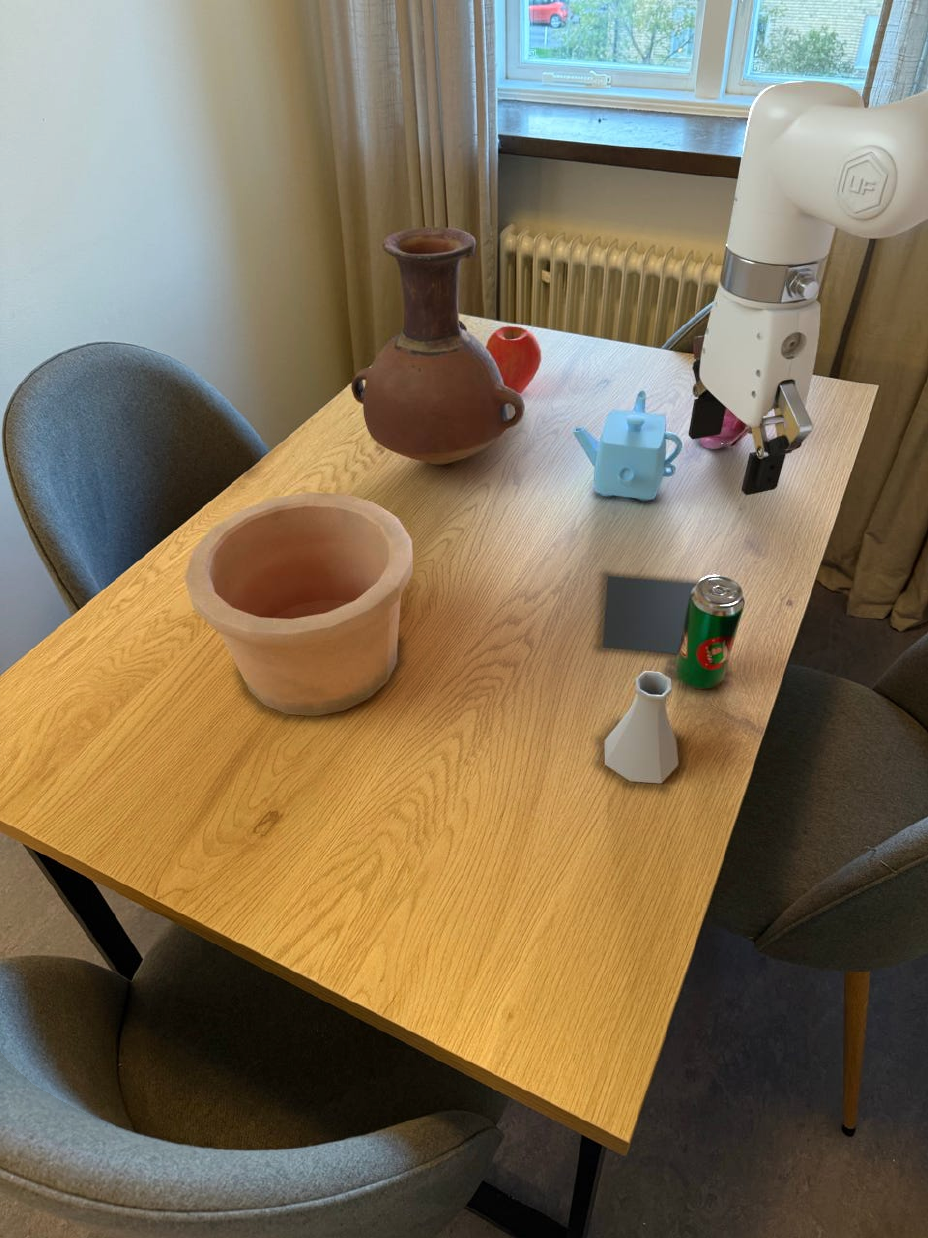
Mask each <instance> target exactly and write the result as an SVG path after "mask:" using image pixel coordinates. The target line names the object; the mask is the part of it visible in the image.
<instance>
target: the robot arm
mask: <svg viewBox="0 0 928 1238" xmlns="http://www.w3.org/2000/svg"><path fill="white" fill-rule="evenodd" d="M735 187H736V188H735V193H734V198H733V203H732V209H731V210H732V211H731V215H730V221H729V228H728V232H727V233H728V234H727V238H726V239H727V240H726V244H725V250H724V253H723V260H722V265H721V272H720V277H719V282H718V286H717V289H716V293H715V296H714V300H713V303H712V305H711V310H710V313H709V318H708V321H707V325H706V326H707V327H706V330H705V333H704V335H698V336H694V337H693V340H692V346H693V359H694V360H695V361H693V363H692V371H693V375H694V379H695V383H694V384H693V386H692V394H693V396H694V397H695V399H694V400H693V406H692V412H691V417H690V422H689V428H688V437H689V438H690V439H691V440H698V439H699V438H704V437H709V436H714V435H719V434H720V433H721V431H722V426H723V421H724V416H725V411H726V407H727V408H728V409H729V410H730V411H731V412H732V413H733V414H734V415H735V416H737V417H738V418H739V419H740V420H741V421H743V422H744V423H745V424H747V425H748V426H750V427H751V429H752V434H751V435H752V439H753V444H754V450H755V451H752V452H749V455H748V459H747V463H746V466H745V472H744V476H743V480H742V485H741V492H742V494H744V495H745V496H750V495H754V494H760V493H765V492H771V491H773V490H775V489H776V488H777V487H778V485H779V481H780V478H781V473H782V470H783V467H784V462H785V459H786V455H788V454H791V453H792V452H793V451H796V450H797V449H799V448H801V446H802V445H803V444H802V443H803V442H804V441H805V440H806V439H807V438H808V436H810V435H811V433H812V432H813V430H814V423H813V422H812V419H811V417H810V415H809V413H808V411H807V409H806V405H807V400H808V396H809V393H810V389H811V388H810V387H811V383H812V378H813V375H814V374H813V373H814V369H815V365H816V364H815V363H816V358H817V351H818V345H819V337H820V329H821V327H820V326H821V307H822V306H821V303H820V302H819V301H818V300H817V299H818V296H819V294H820V293H819V292H820V288H821V285H822V282H823V277H824V273H825V270H826V266H827V262H828V258H829V255H830V250H831V246H832V243H833V239H834V235H835V231H836V229H838V230H841V231H843V232H845V233H848V234H850V235H853V236H856V237H860V238H865V239H885V238H889V237H890V238H891V237H894V236H897V235H900V234H901V233H904V232H906V231H908V230H910V229H912V228H914V227H915V226H918V225H919V224H921V223H923V222H925V221H926V220H928V89H926V90H923V91H921V92H918V93H915V94H912V95H911V96H907V97H905V98H902V99H900V100H897V101H893V102H889V103H885V104H881V105H875V106H873V107H865V102H864V99H863V97H862V95H861V94H860V93H859V92H858V91H857V90H856V89H854V88H852V87H850V86H847V85H844V84H840V83H836V82H829V81H818V80H795V81H787V82H781V83H776V84H774V85H770V86H769V87H767V88H765V89H764V90H762V91H761V92H760V93H759V94H758V96H757V97H756V98H755V99H754V101H753V103H752V106H751V108H750V110H749V116H748V120H747V125H746V131H745V136H744V142H743V148H742V153H741V159H740V164H739V170H738V175H737V180H736V186H735ZM772 409H773V410H772ZM770 410H771V411H773V412H774V415H773V416H768V417H767V415H768V414H769V413H770V412H771V411H770ZM769 411H770V412H769ZM770 426H775V432H776V437H775V438H772V439H769V440H770V441H769V440H767V439H768V435H767V429H766V427H770ZM699 440H700V439H699Z"/></svg>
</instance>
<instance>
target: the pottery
mask: <svg viewBox="0 0 928 1238" xmlns="http://www.w3.org/2000/svg"><path fill="white" fill-rule="evenodd" d="M412 541H413V540H412V538H411V537H410V535H409V533H408V532H407V530H406V529H405V527H404V526H403V524H402V522H401V521H400V519H399V517H397V516H396V515H394V514H392V513H391V512H390V511H388V510H386V509H385V508H384V507H382V506H381V505H379V504H377V503H376V502H373V501H370V500H367V499H363V498H359V497H356V496H353V495H349V494H346V493H332V492H331V493H329V492H304V493H303V492H302V493H296V494H290V495H289V494H288V495H284V496H277V497H272V498H270V499H267V500H265V501H261V502H258V503H256V504H253V505H250V506H246V507H244V508H242V509H239V510H238V511H236V512H234V513H233V514H232V515H230V516H228V517H227V518H225V519H224V520H222V521H221V522H219V523H217V524H216V525H215V526H213V527H211V528H210V529H209V530H208V531H207V533H206V534H205V535H204V537H203V538H201V540H200V541H199V542H198V544H196V545H195V547H194V548H193V549H192V550H191V554H190V557H189V561H188V564H187V568H186V571H185V574H184V580H185V584H186V587H187V591H188V594H189V598H190V602H191V605H192V607H193V610H194V612H195V613H196V614H197V615H198V616H199V617H200V618H202V620H204V621H205V623H206V624H208V625H209V626H210V627H211V628H212V629H213V630H214V631H215V632H216V633H218V634H219V636H220V637H221V639H222V641H223V643H224V645H225V647H226V649H227V651H228V652H229V654H230V656H231V658H232V660H233V662H234V664H235V665H236V667H237V669H238V671H239V673H240V675H241V677H242V678H243V680H244V682H245V684H246V686H247V689H248V691H249V692H250V693H251V694H252V695H254V697H255V698H256V699H257V700H258V701H259V702H261V703H262V705H264V706H266V707H268V708H271V709H274V710H275V711H278V712H281V713H284V714H286V715H293V716H295V715H296V716H308V717H317V716H323V715H327V714H328V715H329V714H333V713H338V712H344V711H346V710H348V709H350V708H352V707H354V706H356V705H358V704H360V703H363V702H364V701H367V700H368V699H370V698H371V697H372V696H374V695H375V694H376V693H377V692H378V691H379V690H380V689H381V688H382V687H383V686H385V684H386V683H388V682H389V679H390V677H391V675H392V673H393V671H394V670H395V667H396V665H397V663H398V644H399V643H398V641H399V628H400V615H401V613H400V612H401V601H402V600H401V599H402V595H403V593H404V591H405V589H406V586H407V585H408V583H409V582H410V581H411V577H412V576H413V574H414V571H413V570H414V568H413V567H414V566H413V565H414V564H413V561H414V560H413V542H412Z"/></svg>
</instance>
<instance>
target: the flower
mask: <svg viewBox="0 0 928 1238" xmlns="http://www.w3.org/2000/svg"><path fill="white" fill-rule="evenodd" d="M771 411H774V409H772V410H770V411H769V412H768V413H770V412H771ZM748 434H749V435H753V434H752V429H751V427H750V426H748V425H747V424H745V423H744V422H743V421H741V420H740V419H739V418H738V417H737V416H735V415H734V414H733V413H732V412H731V411H730V410H729V409H728V408H727V407H726V411H725V416H724V421H723V426H722V431H721V433H720V434H719V435H714V436H709V437H704V438H699V442H700V444H701V446H702V447H704V448H706V449H712V450H717V449H718V450H719V449H721V448H723V447H725V446H726V445H728V444H729V445H728V450H733V449H734V448H735V447H736V446H737V445H738V444H739V443H740V442H741V441H742V440H743V438H744V437H746V436H747V435H748ZM767 440H768V441H770V440H771V439H768V438H767ZM721 443H723V444H721ZM727 443H728V444H727Z"/></svg>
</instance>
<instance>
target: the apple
mask: <svg viewBox="0 0 928 1238" xmlns="http://www.w3.org/2000/svg"><path fill="white" fill-rule="evenodd" d="M485 348H486V349H487V350H488V351H489V353H490V354H491V355H492V357H493V359H494V361H495V363H496V365H497V367H498V369H499V372H500V374H501V377H502V379H503V383H504V386H506V387H508V388H511V389H513V390H514V391H516V392H517V393H519V395H521V394H522V393H523V392H524V391H525V390H526V388H527V387H528V386H529V384H530V383H531V382H532V381H533V379H534V377H535V376H536V374H537V372H538V370H539V369H540V366H541V362H542V349H541V347H540V344H539V341H538V339H537V338H536V336H535V335H534V334H533V333H532V332H531V331H529V330H528V329H526V328H523V327H521V326H512V325H507V326H501V327H499V328H498V329H496V330H495V331H494V332H492V333H491V335H490V337H489V338H488V340H487V343H486V347H485Z"/></svg>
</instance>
